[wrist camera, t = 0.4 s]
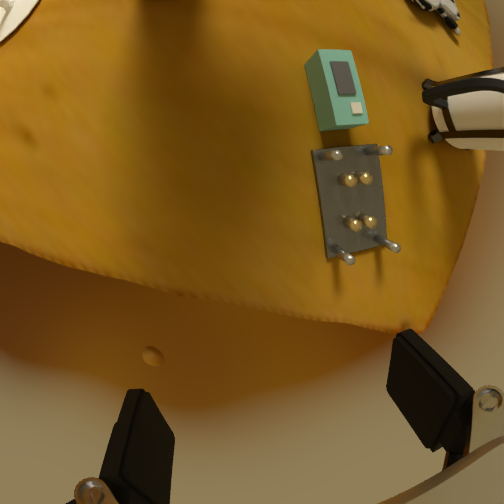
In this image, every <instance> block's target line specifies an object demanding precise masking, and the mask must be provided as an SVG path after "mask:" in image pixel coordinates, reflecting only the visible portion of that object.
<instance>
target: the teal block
mask: <svg viewBox="0 0 504 504" xmlns="http://www.w3.org/2000/svg"><path fill="white" fill-rule="evenodd" d="M304 66H305V70H306V74H307V78H308V82H309V86H310V90H311V94H312V99H313V103H314V108H315V112H316V117H317V122H318V127H319V131H329V130H340V129H350V128H354V127H358V126H361V125H365V124H369V120H368V116H367V111H366V106H365V102H364V97H363V93H362V89H361V85H360V81H359V77H358V74H357V70H356V66H355V63H354V59H353V56H352V53H351V50H324V49H318V50H317V51H316V52H315V53H314V54H313V56H312V57H311V58H310V59H309V60H308V61H307V62H306V64H305V65H304Z"/></svg>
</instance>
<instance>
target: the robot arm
mask: <svg viewBox="0 0 504 504" xmlns="http://www.w3.org/2000/svg"><path fill="white" fill-rule="evenodd" d="M386 388H387V391H388V394H389V395H390V397H391V398H392V399H393V401H394V402H395V404H396V405H397V407H398V408H399V410H400V411H401V412H402V414H403V415H404V417H405V418H406V420H407V421H408V423H409V424H410V426H411V427H412V428H413V430H414V432H415V433H416V435H417V436H418V438H419V439H420V440H421V442H422V444H423V445H424V446H425V447H426V448H430V449H431V451H432V452H435V451H436V450H438V449H440V448H441V447H443V448H444V449H445V450H446V454H445V459H444V464H443V469H442V471H441V472H440V473H438V474H436V475H434V476H433V477H431V478H429V479H427V480H425V481H424V482H422V483H420V484H418V485H416V486H414V487H412V488H411V489H408V490H407V491H405V492H403V493H400V494H398V495H396V496H394V497H392V498H390V499H387V500H385V501H383V502H380V503H378V504H504V393H503V391H502V390H501V389H499V388H498V387H496V386H491V385H488V386H483V387H480V388H479V389H478V390H477V391H476V392H475V391H474V390H473V388H472V387H471V386H470V385H469V384H468V383H467V382H466V381H465V380H464V379H463V378H462V377H461V376H460V375H459V374H458V373H457V372H456V371H455V370H454V369H453V368H452V367H451V366H450V365H449V364H448V363H447V362H446V361H445V360H444V359H443V358H442V357H441V356H440V355H439V354H438V353H437V352H436V351H435V350H434V349H432V348H431V347H430V346H429V345H428V344H427V343H426V342H425V341H424V340H423V339H422V338H421V337H420V336H419V335H418V334H417V333H415V332H414V331H413V330H412V329H407V330H405V331H402V332H400V333H397V335H396V338H394V339H393V344H392V352H391V360H390V366H389V373H388V379H387V385H386ZM174 445H175V437H174V434H173V432H172V430H171V429H170V427H169V426H168V424H167V422H166V421H165V419H164V417H163V416H162V414H161V412H160V411H159V409H158V407H157V406H156V404H155V402H154V400H153V398H152V396H151V395H150V393H149V392H145V390H144V389H129V390H128V391H127V393H126V396H125V399H124V402H123V405H122V408H121V411H120V414H119V418H118V421H117V422H116V423H115V425H114V427H113V430H112V433H111V437H110V440H109V443H108V447H107V450H106V453H105V457H104V461H103V464H102V468H101V471H100V475H99V479H98V478H94V477H89V478H86V479H83V480H82V481H80V482H79V483H78V484H77V485H76V488H75V490H74V497H75V499H73V500H72V501H70V502H68V503H66V504H170V489H171V477H172V465H173V455H174Z"/></svg>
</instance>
